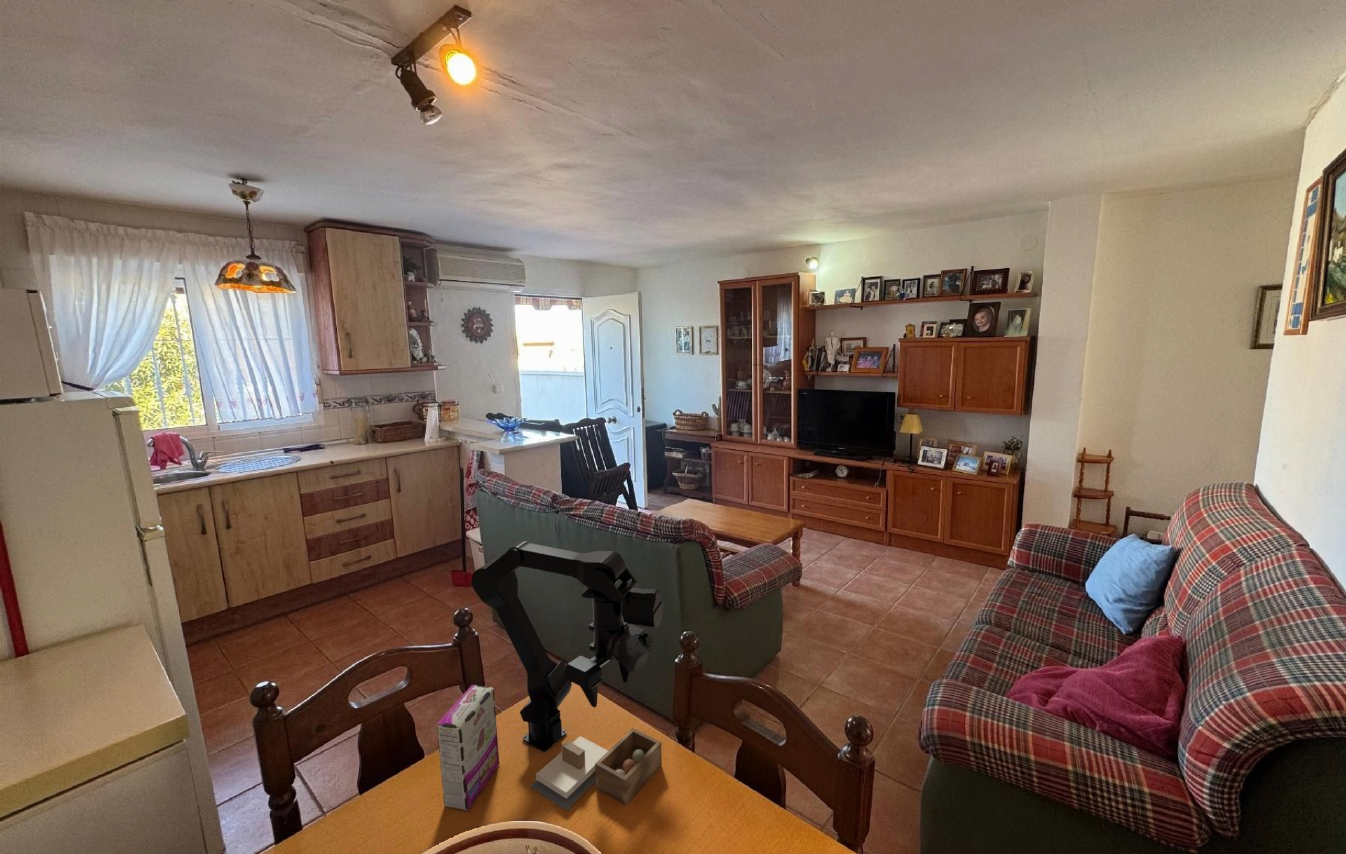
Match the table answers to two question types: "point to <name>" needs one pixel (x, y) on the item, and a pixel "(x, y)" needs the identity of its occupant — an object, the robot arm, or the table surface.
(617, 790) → the box
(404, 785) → the table surface
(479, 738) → the candy bar box
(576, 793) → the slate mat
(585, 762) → the lid
